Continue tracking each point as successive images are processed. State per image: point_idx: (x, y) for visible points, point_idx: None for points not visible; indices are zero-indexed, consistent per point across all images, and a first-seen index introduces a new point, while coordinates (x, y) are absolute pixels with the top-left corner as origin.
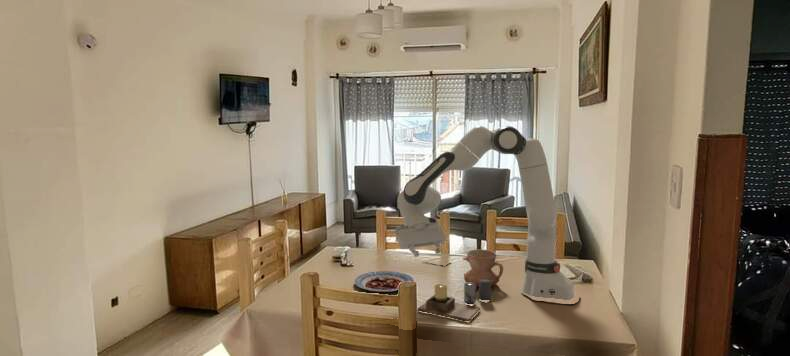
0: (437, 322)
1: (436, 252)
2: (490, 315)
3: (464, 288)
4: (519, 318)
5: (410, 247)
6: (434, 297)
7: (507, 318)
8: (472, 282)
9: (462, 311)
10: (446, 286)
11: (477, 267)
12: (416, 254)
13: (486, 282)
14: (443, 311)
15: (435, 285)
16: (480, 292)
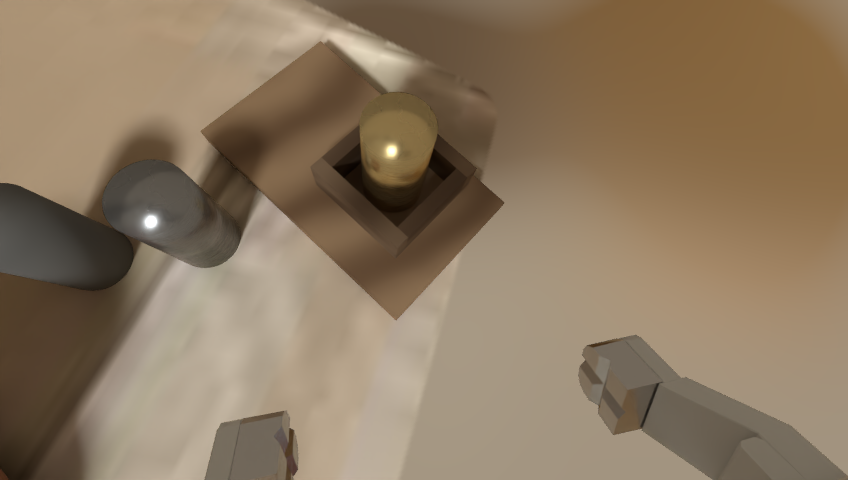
0: (443, 94)
1: (290, 445)
2: (187, 92)
3: (203, 212)
4: (79, 32)
5: (795, 449)
6: (416, 208)
7: (132, 46)
8: (109, 222)
9: (310, 113)
10: (363, 114)
11: None
12: (632, 336)
13: (3, 195)
14: None
15: (428, 149)
16: (96, 237)
